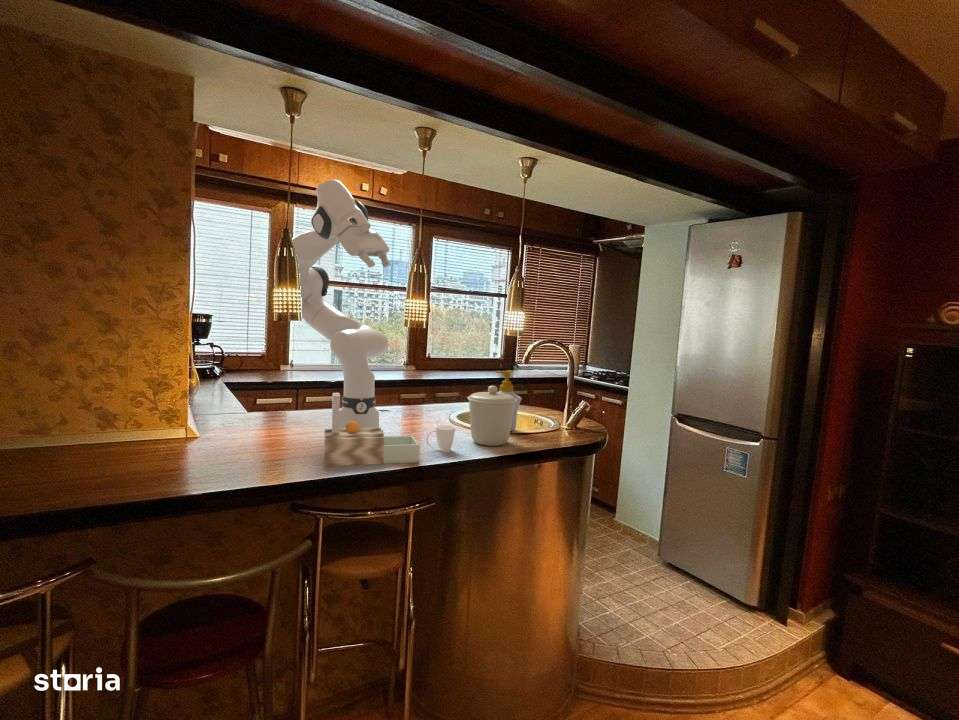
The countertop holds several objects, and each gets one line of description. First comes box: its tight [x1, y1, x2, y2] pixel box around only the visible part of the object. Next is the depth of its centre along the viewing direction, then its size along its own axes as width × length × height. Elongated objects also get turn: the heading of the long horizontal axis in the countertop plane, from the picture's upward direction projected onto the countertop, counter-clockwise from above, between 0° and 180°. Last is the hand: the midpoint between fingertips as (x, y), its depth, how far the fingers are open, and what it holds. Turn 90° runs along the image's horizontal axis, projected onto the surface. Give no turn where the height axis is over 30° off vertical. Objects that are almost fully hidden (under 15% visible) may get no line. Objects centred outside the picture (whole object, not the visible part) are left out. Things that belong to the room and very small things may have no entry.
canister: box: [466, 385, 517, 447], centre depth 179 cm, size 18×18×21 cm
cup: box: [426, 424, 457, 453], centre depth 166 cm, size 7×10×8 cm
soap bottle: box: [496, 369, 523, 432], centre depth 200 cm, size 13×13×25 cm
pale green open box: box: [382, 435, 420, 465], centre depth 155 cm, size 11×11×6 cm
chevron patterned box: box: [323, 427, 385, 467], centre depth 151 cm, size 17×11×9 cm
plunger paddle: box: [331, 392, 341, 434], centre depth 148 cm, size 2×6×12 cm, turn 18°
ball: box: [346, 421, 359, 434], centre depth 150 cm, size 4×4×4 cm
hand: (380, 266), depth 149 cm, fingers open, 8 cm apart
